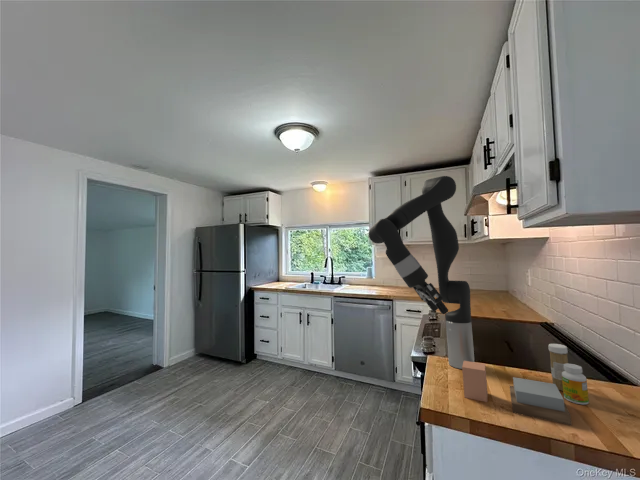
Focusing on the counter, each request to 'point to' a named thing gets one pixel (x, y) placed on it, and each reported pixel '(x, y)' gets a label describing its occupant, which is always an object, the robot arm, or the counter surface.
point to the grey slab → (538, 394)
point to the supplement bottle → (574, 384)
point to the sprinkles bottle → (558, 363)
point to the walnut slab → (540, 411)
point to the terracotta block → (474, 381)
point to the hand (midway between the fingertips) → (440, 311)
